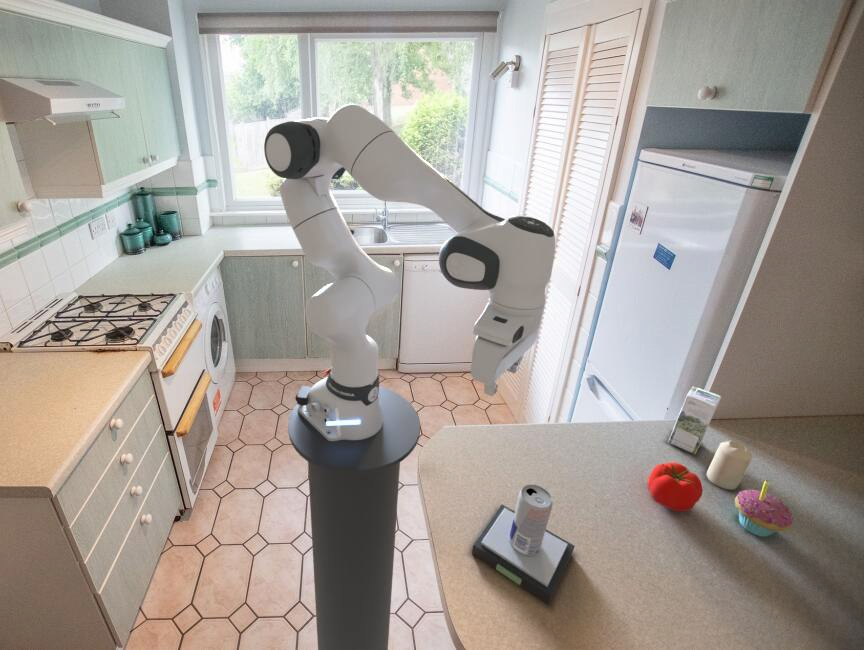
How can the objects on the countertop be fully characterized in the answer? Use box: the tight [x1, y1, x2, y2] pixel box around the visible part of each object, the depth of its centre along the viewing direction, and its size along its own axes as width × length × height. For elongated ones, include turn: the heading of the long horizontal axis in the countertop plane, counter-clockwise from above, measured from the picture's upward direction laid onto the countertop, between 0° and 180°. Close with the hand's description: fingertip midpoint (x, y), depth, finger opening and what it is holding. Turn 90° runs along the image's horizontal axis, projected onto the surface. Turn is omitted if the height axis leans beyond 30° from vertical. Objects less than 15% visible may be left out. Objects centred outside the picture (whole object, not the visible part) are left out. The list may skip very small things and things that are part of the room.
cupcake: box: [734, 478, 795, 537], centre depth 86 cm, size 9×8×12 cm
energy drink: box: [509, 483, 553, 556], centre depth 79 cm, size 5×5×12 cm
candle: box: [706, 439, 754, 491], centre depth 97 cm, size 6×6×10 cm
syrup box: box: [667, 385, 722, 455], centre depth 106 cm, size 6×6×14 cm
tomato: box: [647, 462, 703, 512], centre depth 93 cm, size 9×9×8 cm
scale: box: [471, 503, 575, 605], centre depth 82 cm, size 14×12×3 cm
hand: (501, 381), depth 83 cm, fingers open, 8 cm apart
